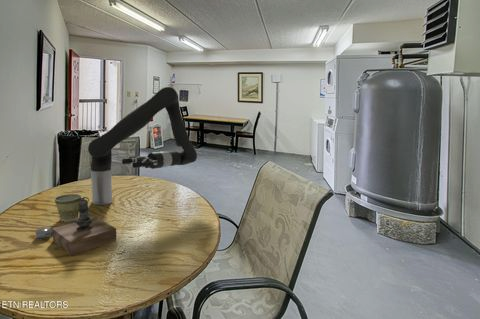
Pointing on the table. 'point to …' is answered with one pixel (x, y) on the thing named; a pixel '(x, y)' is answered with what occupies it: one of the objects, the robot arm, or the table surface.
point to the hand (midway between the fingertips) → (127, 163)
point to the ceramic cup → (68, 206)
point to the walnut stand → (83, 236)
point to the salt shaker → (84, 216)
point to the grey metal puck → (43, 233)
